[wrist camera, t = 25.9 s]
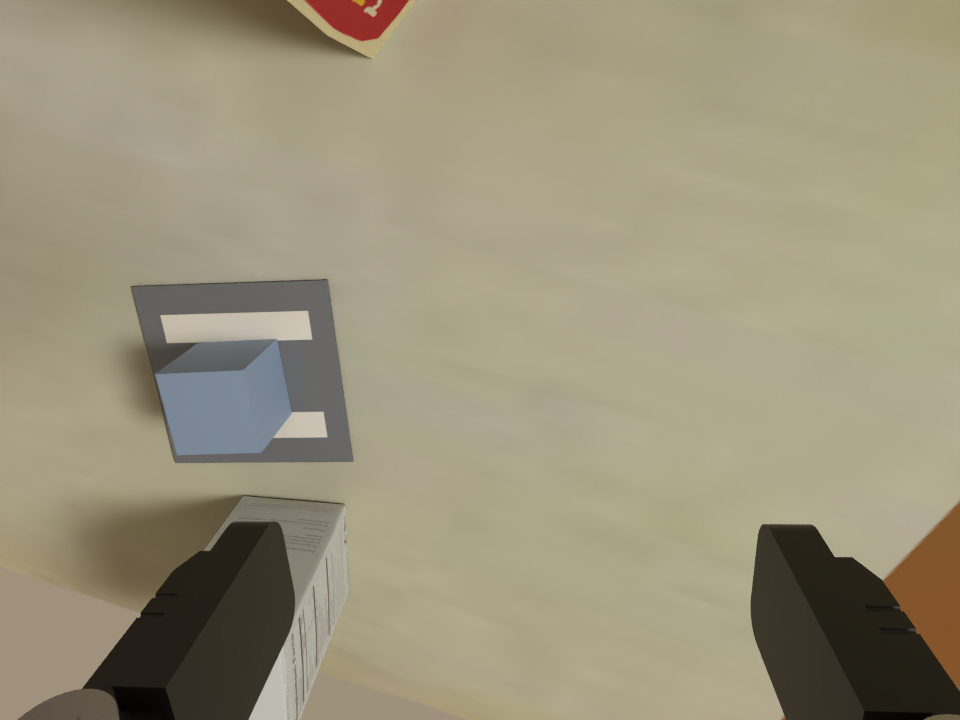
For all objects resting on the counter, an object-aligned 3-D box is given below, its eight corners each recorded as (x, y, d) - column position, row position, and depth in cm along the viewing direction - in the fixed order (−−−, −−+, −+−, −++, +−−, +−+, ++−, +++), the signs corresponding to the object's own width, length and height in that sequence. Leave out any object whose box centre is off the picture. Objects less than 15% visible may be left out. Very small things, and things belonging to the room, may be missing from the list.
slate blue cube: (198, 342, 41) (155, 374, 37) (276, 338, 41) (242, 370, 36) (216, 416, 43) (177, 455, 39) (291, 413, 43) (261, 452, 38)
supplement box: (250, 581, 48) (155, 737, 36) (242, 492, 45) (137, 630, 34) (352, 592, 48) (289, 753, 36) (350, 502, 45) (282, 646, 33)
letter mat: (133, 286, 41) (131, 287, 40) (327, 279, 39) (326, 280, 39) (176, 461, 45) (175, 463, 45) (353, 460, 44) (352, 462, 44)
